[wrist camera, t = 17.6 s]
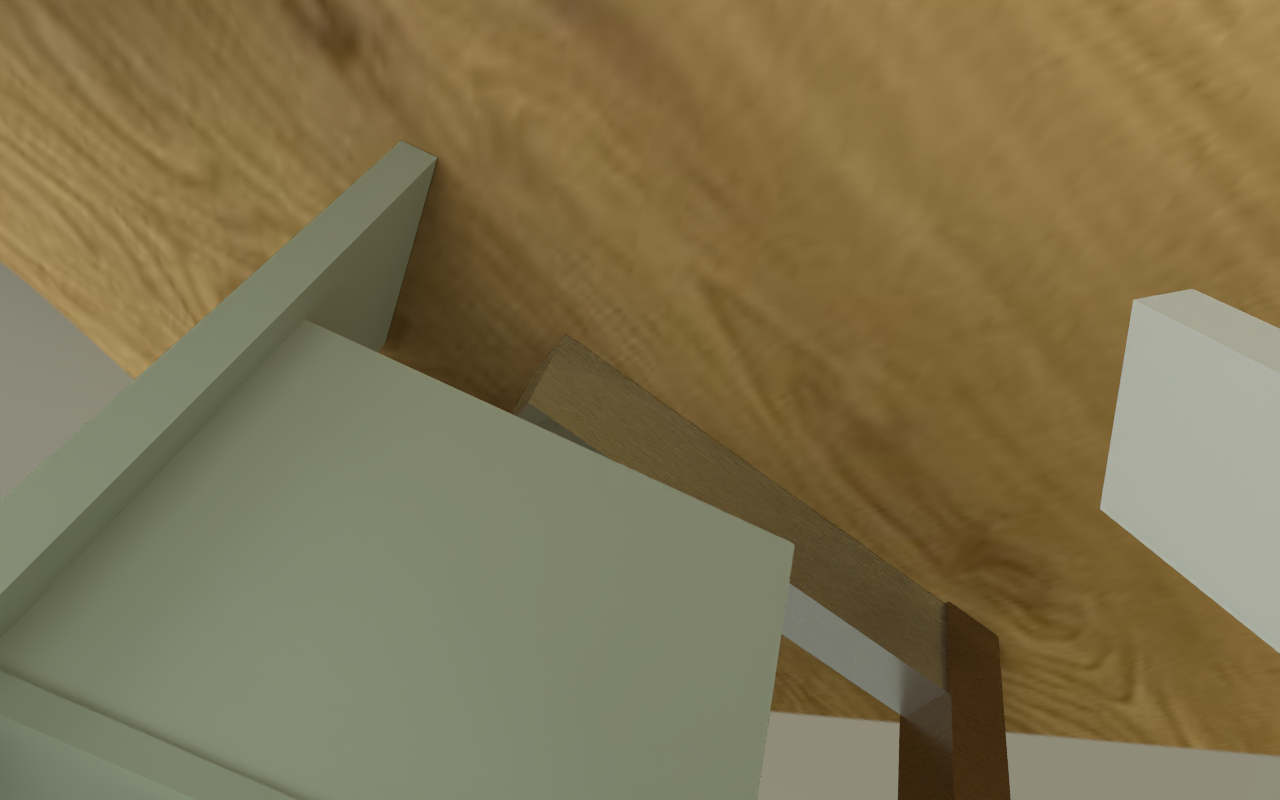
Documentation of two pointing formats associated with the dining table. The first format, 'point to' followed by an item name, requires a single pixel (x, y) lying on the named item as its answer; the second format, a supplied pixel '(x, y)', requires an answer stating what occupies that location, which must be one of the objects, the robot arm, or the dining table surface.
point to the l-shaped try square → (811, 580)
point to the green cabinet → (367, 575)
